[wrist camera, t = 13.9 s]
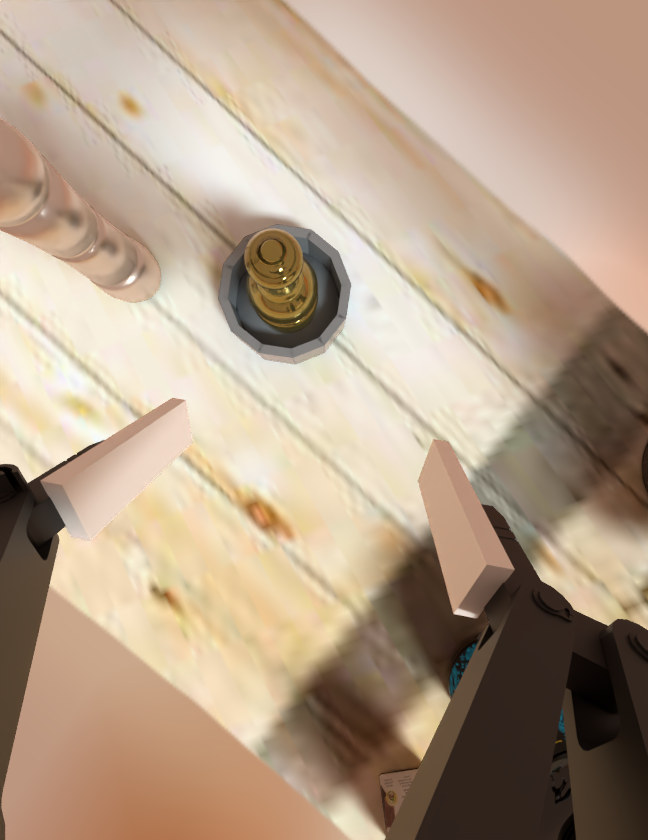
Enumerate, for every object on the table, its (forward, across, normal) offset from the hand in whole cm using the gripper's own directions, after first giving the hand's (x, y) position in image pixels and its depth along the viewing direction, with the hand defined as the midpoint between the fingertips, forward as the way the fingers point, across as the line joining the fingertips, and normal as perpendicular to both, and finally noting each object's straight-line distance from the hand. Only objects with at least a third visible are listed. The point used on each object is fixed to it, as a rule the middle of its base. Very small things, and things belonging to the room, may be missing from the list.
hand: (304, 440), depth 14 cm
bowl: (+22, -7, +4) cm, 24 cm away
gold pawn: (+21, -7, +4) cm, 23 cm away
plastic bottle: (+21, -25, +5) cm, 33 cm away
